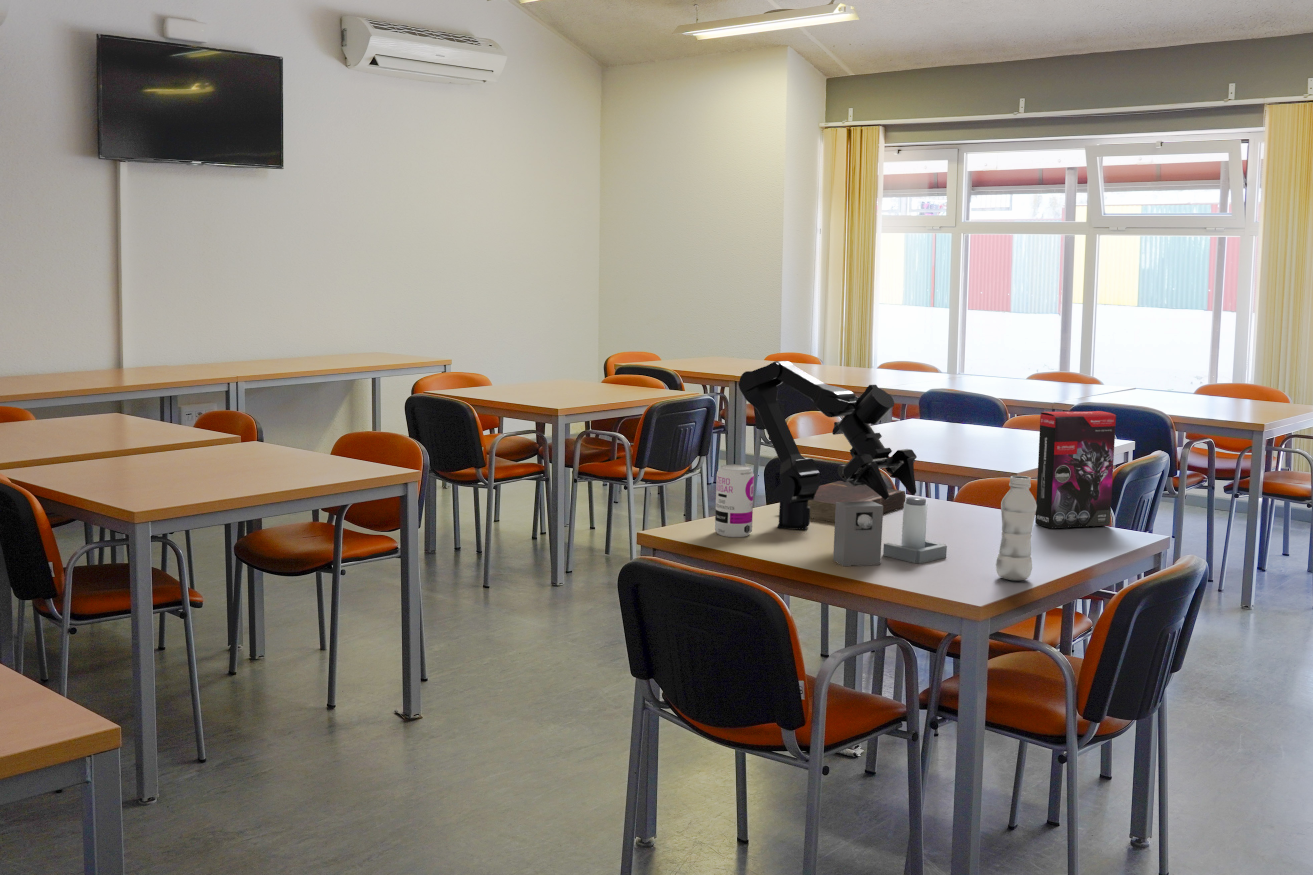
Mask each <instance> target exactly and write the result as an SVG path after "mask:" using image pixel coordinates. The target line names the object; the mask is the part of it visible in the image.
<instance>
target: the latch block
mask: <svg viewBox="0 0 1313 875" xmlns="http://www.w3.org/2000/svg"><path fill="white" fill-rule="evenodd" d="M860 512H862V513H864V514H866V515H869V516H870V517H871V518H872V519H873V524H872V526H871V527H870V528H869V529H863V528H861V527H859V526H857V525H856V513H860ZM883 518H884V514H883V506H882V505H880V504H878V503H875V502H873V501H858V502H836V510H835V522H834V535H833V553H832V560H833V561H834V562H835V561H836V562H835V563H837V562H838V563H837V564H839V565H840V564H841V565H840V566H842V565H843V566H842V567H852V566H851V565H861V566H876V565H879V566H880V565H881V558H882V557H881V553H882V541H883V540H882V539H883V538H882V537H883V536H882V535H883V520H884V519H883ZM871 564H872V565H871Z"/></svg>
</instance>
